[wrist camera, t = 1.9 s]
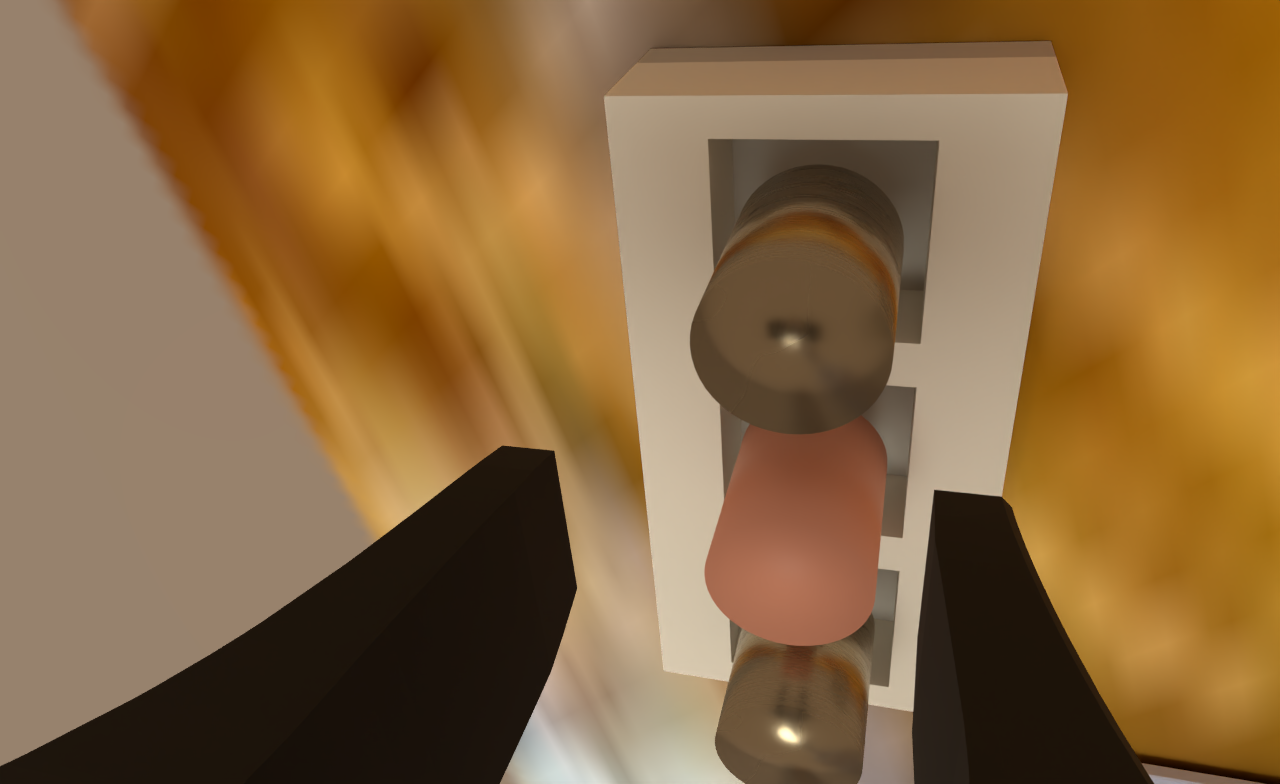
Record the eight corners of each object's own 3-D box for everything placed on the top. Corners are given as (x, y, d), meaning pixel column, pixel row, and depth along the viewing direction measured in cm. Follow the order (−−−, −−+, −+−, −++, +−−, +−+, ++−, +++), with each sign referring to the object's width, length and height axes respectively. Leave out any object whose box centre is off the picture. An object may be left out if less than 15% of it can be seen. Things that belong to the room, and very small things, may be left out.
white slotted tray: (1051, 40, 16) (1067, 93, 13) (963, 621, 23) (965, 720, 21) (650, 48, 18) (603, 95, 15) (690, 583, 25) (663, 671, 23)
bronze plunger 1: (910, 165, 15) (900, 264, 12) (898, 322, 16) (886, 442, 13) (732, 163, 15) (684, 255, 13) (737, 313, 17) (694, 425, 14)
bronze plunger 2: (878, 582, 20) (865, 721, 17) (871, 672, 21) (859, 813, 18) (745, 565, 20) (711, 695, 18) (747, 653, 22) (717, 786, 19)
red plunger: (891, 404, 17) (879, 532, 14) (883, 520, 19) (870, 656, 16) (739, 392, 18) (700, 511, 15) (743, 504, 19) (707, 632, 17)
